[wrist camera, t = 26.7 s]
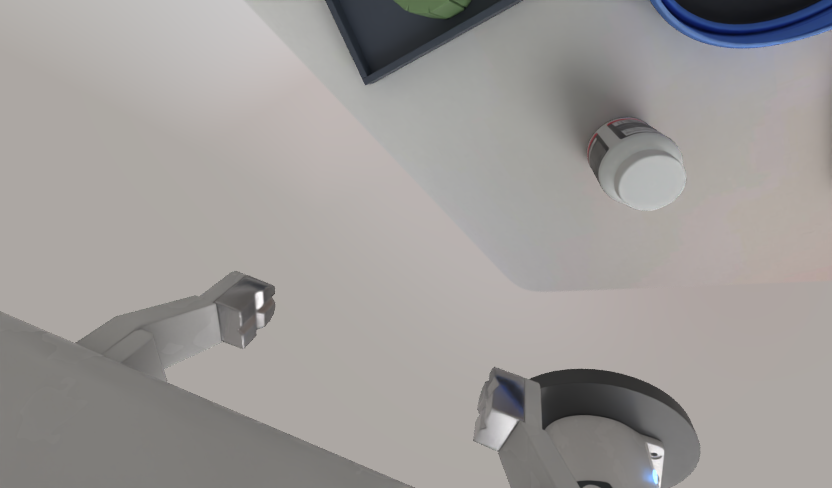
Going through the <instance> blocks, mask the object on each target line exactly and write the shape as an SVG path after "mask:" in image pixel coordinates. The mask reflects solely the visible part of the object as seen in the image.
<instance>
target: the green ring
mask: <svg viewBox="0 0 832 488" xmlns="http://www.w3.org/2000/svg"><path fill="white" fill-rule="evenodd" d="M393 1H395V2H396V3H397V4H398V5H400V6H401V7H402V8H403V9H404V10H406V11H409V12H410V13H414V14H418V15H422V16H425V17H429V18H436V19H448V18H452V17H454V16H455V15H457V14H459V13H461V12H462V11H464V10H465V8H464V7H466V8H467V7H468V5H469V4H470V2H471V1H472V0H393Z"/></svg>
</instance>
